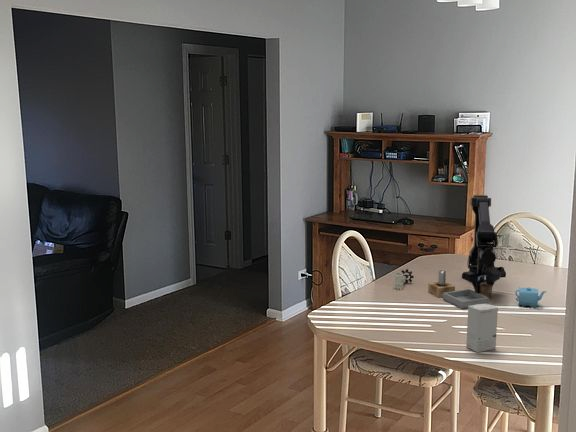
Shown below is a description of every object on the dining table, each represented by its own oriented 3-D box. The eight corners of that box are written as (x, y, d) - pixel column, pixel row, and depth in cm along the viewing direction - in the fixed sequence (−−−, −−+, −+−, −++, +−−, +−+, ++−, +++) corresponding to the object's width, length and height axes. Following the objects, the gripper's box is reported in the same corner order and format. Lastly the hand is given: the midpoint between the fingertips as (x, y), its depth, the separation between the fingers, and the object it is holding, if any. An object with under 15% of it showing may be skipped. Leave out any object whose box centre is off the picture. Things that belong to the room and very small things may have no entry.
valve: (404, 290, 280) (413, 283, 290) (404, 276, 278) (414, 269, 288) (390, 288, 283) (400, 281, 293) (390, 274, 282) (400, 267, 292)
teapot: (545, 304, 259) (547, 287, 258) (546, 309, 254) (547, 291, 252) (514, 301, 263) (515, 284, 262) (514, 306, 258) (515, 288, 256)
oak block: (443, 290, 280) (444, 281, 279) (454, 295, 272) (455, 286, 272) (428, 292, 277) (428, 283, 276) (438, 297, 270) (439, 288, 269)
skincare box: (477, 353, 212) (479, 310, 209) (465, 346, 218) (467, 305, 215) (496, 348, 215) (499, 307, 213) (484, 342, 221) (486, 301, 218)
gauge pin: (442, 292, 277) (443, 270, 275) (446, 294, 274) (447, 271, 272) (436, 293, 275) (437, 270, 274) (440, 295, 273) (441, 272, 271)
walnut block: (484, 294, 274) (484, 282, 273) (491, 297, 269) (492, 285, 268) (474, 295, 272) (474, 284, 271) (481, 298, 267) (482, 287, 266)
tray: (468, 295, 271) (469, 289, 271) (488, 305, 260) (489, 297, 259) (442, 299, 267) (443, 292, 266) (462, 309, 255) (462, 302, 254)
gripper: (478, 265, 257) (476, 302, 260) (516, 260, 263) (513, 296, 266) (461, 259, 267) (460, 294, 270) (498, 254, 273) (496, 289, 276)
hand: (483, 294), depth 270 cm, fingers closed on walnut block, 5 cm apart
